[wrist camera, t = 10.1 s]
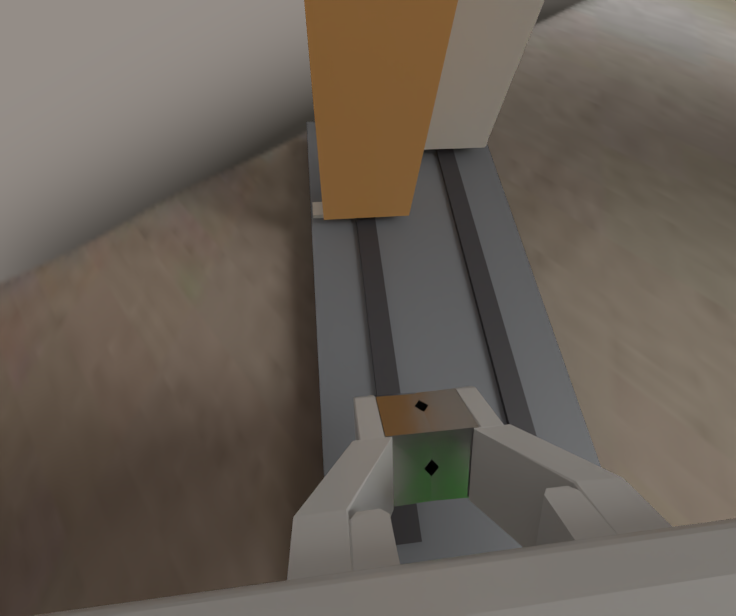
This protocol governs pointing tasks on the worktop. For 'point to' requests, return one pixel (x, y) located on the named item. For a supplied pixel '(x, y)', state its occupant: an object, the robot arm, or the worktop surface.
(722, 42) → the worktop surface
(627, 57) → the worktop surface
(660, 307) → the worktop surface
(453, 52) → the fader white
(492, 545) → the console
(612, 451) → the worktop surface
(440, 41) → the fader orange
